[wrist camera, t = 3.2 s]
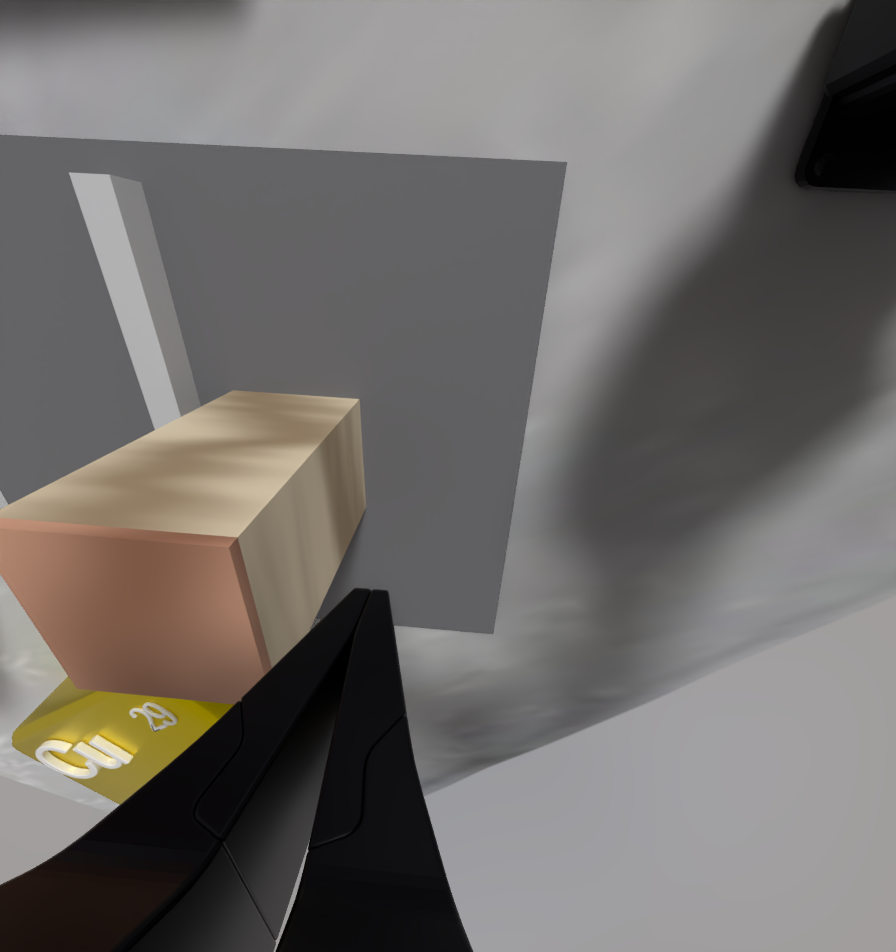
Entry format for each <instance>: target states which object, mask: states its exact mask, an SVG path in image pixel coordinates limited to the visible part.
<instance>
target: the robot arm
mask: <svg viewBox="0 0 896 952" xmlns="http://www.w3.org/2000/svg"><path fill="white" fill-rule="evenodd" d="M819 158H822V159H823V161H824V166H823V170H822V171H821V173H820V174H819V175H818V176H817V175H816V174H815V171H814V169H815V164H816V163H817V161H818V159H819ZM795 181H796V184H797V185H798V186H799V187H800V188H803V189H810V190H830V191H850V192H870V193H890V194H896V0H856V1H855V4H854V6H853V9H852V12H851V14H850V17H849V20H848V22H847V25H846V27H845V30H844V33H843V35H842V38H841V41H840V43H839V46H838V49H837V51H836V54H835V56H834V59H833V62H832V64H831V67H830V70H829V72H828V75H827V78H826V80H825V94H824V97H823V99H822V102H821V104H820V107H819V110H818V112H817V115H816V117H815V120H814V123H813V125H812V128H811V131H810V133H809V136H808V138H807V141H806V144H805V146H804V149H803V151H802V154H801V157H800V159H799V162H798V164H797V167H796V171H795ZM310 836H311V837H310ZM309 840H310V842H309ZM308 843H309V847H308V851H309V852H308V853H307V856H306V861H305V865H304V869H303V873H302V877H301V881H300V885H299V888H298V892H297V895H296V899H295V901H294V904H293V907H292V910H291V912H290V915H289V918H288V920H287V923H286V926H285V929H284V931H283V934H282V936H281V939H280V942H279V944H278V947H277V949H276V952H473V950H472V947H471V945H470V942H469V940H468V937H467V935H466V933H465V930H464V927H463V925H462V922H461V919H460V916H459V913H458V911H457V908H456V905H455V902H454V899H453V896H452V893H451V890H450V887H449V884H448V880H447V877H446V873H445V870H444V866H443V863H442V859H441V856H440V852H439V849H438V845H437V842H436V838H435V835H434V831H433V828H432V824H431V821H430V817H429V814H428V810H427V807H426V803H425V799H424V796H423V792H422V788H421V784H420V781H419V777H418V773H417V769H416V765H415V760H414V755H413V749H412V744H411V738H410V732H409V725H408V718H407V713H406V706H405V699H404V692H403V686H402V679H401V672H400V665H399V658H398V651H397V645H396V638H395V631H394V624H393V617H392V611H391V604H390V597H389V592H388V591H387V590H381V589H373V590H372V591H371V590H370V589H368V588H354V589H353V590H352V591H350V592H349V593H348V594H347V595H346V596H345V597H344V598H343V599H342V600H341V601H340V602H339V603H338V604H337V605H336V606H335V607H334V608H333V609H332V610H331V611H330V612H329V613H328V614H327V615H326V616H325V617H324V618H323V619H322V620H321V621H320V622H319V623H318V624H317V625H316V626H315V627H314V628H313V629H311V630H310V631H309V632H308V633H307V634H306V635H305V636H304V637H303V638H302V639H301V640H300V641H299V642H298V643H297V644H296V645H295V646H294V647H293V648H292V649H291V650H290V651H289V652H288V653H287V654H286V655H285V656H284V657H283V658H282V659H281V660H280V661H279V662H278V663H277V664H276V665H275V666H274V667H272V668H271V669H270V670H269V671H268V672H267V673H266V674H265V675H264V676H263V677H262V678H261V679H260V680H259V681H258V682H257V683H256V684H255V685H254V686H253V687H252V688H251V689H250V690H249V691H248V692H247V693H246V694H245V695H244V696H243V697H242V698H241V701H237V702H236V703H235V704H234V705H233V706H232V707H231V708H230V709H229V710H228V711H227V712H226V713H225V714H224V715H223V716H222V717H221V718H220V719H219V720H218V721H217V722H216V723H214V724H213V725H212V726H211V727H210V728H209V729H208V730H207V731H206V732H205V733H204V734H203V735H202V736H201V737H199V738H198V739H197V740H196V741H195V742H194V743H193V744H192V745H190V746H189V747H188V748H187V749H186V750H185V751H183V752H182V753H181V754H180V755H179V756H178V757H176V758H175V759H174V760H173V761H172V762H171V763H170V764H168V765H167V766H166V767H165V768H164V769H162V770H161V771H160V772H159V773H158V774H156V775H155V776H154V777H153V778H152V779H150V780H149V781H148V782H147V783H146V784H144V785H143V786H142V787H141V788H140V789H138V790H137V791H136V792H135V793H134V794H132V795H131V796H130V797H129V798H128V799H126V800H125V801H124V802H123V803H122V804H120V805H119V806H118V807H117V808H116V809H114V810H113V811H112V812H111V813H110V814H109V815H107V816H106V817H105V818H104V819H102V820H101V821H100V822H99V823H98V824H96V825H95V826H94V827H93V828H92V829H90V830H89V831H88V832H87V833H85V834H84V835H83V836H82V837H80V838H79V839H78V840H76V841H75V842H73V843H72V844H71V845H70V846H68V847H67V848H65V849H64V850H62V851H61V852H59V853H58V854H56V855H55V856H53V857H52V858H50V859H48V860H47V861H45V862H43V863H42V864H40V865H39V866H37V867H35V868H33V869H31V870H29V871H28V872H25V873H24V874H22V875H20V876H17V877H15V878H13V879H11V880H9V881H7V882H5V883H3V884H1V885H0V952H273V951H274V948H275V945H276V942H275V940H276V939H277V938H278V935H279V932H280V929H281V926H282V923H283V920H284V917H285V913H286V911H287V907H288V904H289V901H290V898H291V895H292V892H293V889H294V886H295V882H296V879H297V877H298V873H299V870H300V867H301V864H302V861H303V858H304V855H305V852H306V849H307V846H308Z"/></svg>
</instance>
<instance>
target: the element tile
mask: <svg viewBox="0 0 896 952" xmlns="http://www.w3.org/2000/svg"><path fill="white" fill-rule="evenodd" d="M233 705H234V704H226V703H215V702H205V701H195V700H185V699H175V698H164V697H154V696H144V695H134V694H123V693H113V692H103V691H93V690H83V689H77V688H76V687H75V685H74V684H73V682H72V681H71V679H70V678H69V676H68V677H67V678H66V679H65V680H64V681H63V682H62V683H61V684H60V685H59V686H58V687H57V688H56V689H55V690H54V691H53V692H52V693H51V694H50V695H49V696H48V697H47V698H46V699H45V700H44V701H43V702H42V703H41V704H40V705H39V706H38V707H37V708H36V709H35V710H34V711H33V712H32V713H31V714H30V715H29V716H28V717H27V718H26V719H25V720H24V721H23V722H22V723H21V724H20V726H19V727H18V728H17V729H16V730H15V731H14V732H13V736H12V740H13V741H12V746H13V747H14V748H15V749H17V750H18V751H20V752H22V753H23V754H25V755H27V756H29V757H30V758H32V759H34V760H36V761H38V762H40V763H42V764H44V765H46V766H47V767H49V768H51V769H53V770H55V771H57V772H59V773H61V774H63V775H65V776H67V777H68V778H70V779H72V780H74V781H76V782H78V783H80V784H82V785H84V786H86V787H87V788H89V789H91V790H93V791H95V792H97V793H99V794H101V795H103V796H105V797H106V798H108V799H110V800H112V801H114V802H116V803H118V804H122V803H123V802H124V801H125V800H126V799H128V798H129V797H130V796H131V795H132V794H134V793H135V792H136V791H137V790H138V789H140V788H141V787H142V786H143V785H144V784H146V783H147V782H148V781H149V780H150V779H152V778H153V777H154V776H155V775H156V774H158V773H159V772H160V771H161V770H162V769H164V768H165V767H166V766H167V765H168V764H170V763H171V762H172V761H173V760H174V759H175V758H176V757H178V756H179V755H180V754H181V753H182V752H183V751H185V750H186V749H187V748H188V747H189V746H190V745H192V744H193V743H194V742H195V741H196V740H197V739H198V738H199V737H201V736H202V735H203V734H204V733H205V732H206V731H207V730H208V729H209V728H210V727H211V726H212V725H213V724H214V723H216V722H217V721H218V720H219V719H220V718H221V717H222V716H223V715H224V714H225V713H226V712H227V711H228V710H229V709H230V708H231V707H232V706H233Z"/></svg>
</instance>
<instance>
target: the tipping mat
mask: <svg viewBox="0 0 896 952" xmlns="http://www.w3.org/2000/svg"><path fill="white" fill-rule="evenodd" d="M566 165H567V162H552V161H531V160H511V159H490V158H469V157H448V156H428V155H407V154H386V153H366V152H345V151H324V150H303V149H283V148H262V147H241V146H221V145H200V144H179V143H158V142H138V141H117V140H96V139H75V138H55V137H34V136H13V135H0V491H1V492H2V494H3V496H4V497H5V499H6V501H7V503H8V504H11V503H13V502H15V501H17V500H19V499H21V498H23V497H25V496H27V495H29V494H31V493H33V492H35V491H37V490H39V489H41V488H43V487H45V486H47V485H49V484H51V483H53V482H54V481H56V480H58V479H60V478H62V477H64V476H66V475H68V474H70V473H72V472H74V471H76V470H78V469H80V468H82V467H84V466H86V465H88V464H90V463H92V462H94V461H96V460H98V459H100V458H102V457H103V456H105V455H107V454H109V453H111V452H113V451H115V450H117V449H119V448H121V447H123V446H125V445H127V444H129V443H131V442H133V441H135V440H137V439H139V438H141V437H143V436H145V435H147V434H149V433H151V432H152V431H154V430H156V429H158V428H160V427H162V426H164V425H166V424H168V423H170V422H172V421H174V420H176V419H178V418H180V417H182V416H184V415H186V414H188V413H190V412H192V411H194V410H196V409H198V408H199V407H201V406H203V405H205V404H207V403H209V402H211V401H213V400H215V399H217V398H219V397H221V396H223V395H225V394H227V393H229V392H231V391H233V390H236V391H250V392H265V393H279V394H293V395H308V396H322V397H336V398H350V399H360V415H361V431H362V448H363V464H364V481H365V497H366V509H365V511H364V513H363V515H362V517H361V520H360V522H359V524H358V526H357V528H356V530H355V533H354V535H353V537H352V539H351V541H350V544H349V546H348V548H347V550H346V552H345V554H344V557H343V559H342V561H341V563H340V565H339V567H338V570H337V572H336V574H335V576H334V578H333V581H332V583H331V585H330V587H329V589H328V591H327V594H326V596H325V598H324V600H323V602H322V604H321V607H320V609H319V611H318V613H317V615H316V618H319V619H323V618H324V617H325V616H326V615H327V614H328V613H329V612H330V611H331V610H332V609H333V608H334V607H335V606H336V605H337V604H338V603H339V602H340V601H341V600H342V599H343V598H344V597H345V596H346V595H347V594H348V593H349V592H350V591H352V590H353V589H354V588H368V589H370V590H371V591H372V590H373V589H381V590H387V591H388V592H389V597H390V604H391V611H392V617H393V624H394V625H398V626H409V627H420V628H431V629H442V630H453V631H465V632H476V633H487V634H493V632H494V626H495V619H496V613H497V607H498V600H499V594H500V587H501V581H502V575H503V568H504V562H505V556H506V549H507V543H508V536H509V530H510V524H511V517H512V511H513V504H514V498H515V492H516V485H517V479H518V472H519V466H520V460H521V453H522V447H523V440H524V434H525V428H526V421H527V415H528V408H529V402H530V396H531V389H532V383H533V376H534V370H535V364H536V357H537V351H538V345H539V338H540V332H541V325H542V319H543V313H544V306H545V300H546V293H547V287H548V281H549V274H550V268H551V261H552V255H553V249H554V242H555V236H556V229H557V223H558V217H559V210H560V204H561V197H562V191H563V185H564V178H565V172H566Z"/></svg>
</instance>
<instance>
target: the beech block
mask: <svg viewBox="0 0 896 952" xmlns="http://www.w3.org/2000/svg"><path fill="white" fill-rule="evenodd" d="M365 509H366V497H365V481H364V464H363V448H362V431H361V415H360V399H350V398H336V397H322V396H308V395H293V394H279V393H265V392H250V391H236V390H233V391H231V392H229V393H227V394H225V395H223V396H221V397H219V398H217V399H215V400H213V401H211V402H209V403H207V404H205V405H203V406H201V407H199V408H198V409H196V410H194V411H192V412H190V413H188V414H186V415H184V416H182V417H180V418H178V419H176V420H174V421H172V422H170V423H168V424H166V425H164V426H162V427H160V428H158V429H156V430H154V431H152V432H151V433H149V434H147V435H145V436H143V437H141V438H139V439H137V440H135V441H133V442H131V443H129V444H127V445H125V446H123V447H121V448H119V449H117V450H115V451H113V452H111V453H109V454H107V455H105V456H103V457H102V458H100V459H98V460H96V461H94V462H92V463H90V464H88V465H86V466H84V467H82V468H80V469H78V470H76V471H74V472H72V473H70V474H68V475H66V476H64V477H62V478H60V479H58V480H56V481H54V482H53V483H51V484H49V485H47V486H45V487H43V488H41V489H39V490H37V491H35V492H33V493H31V494H29V495H27V496H25V497H23V498H21V499H19V500H17V501H15V502H13V503H11V504H9V505H7V506H6V507H4V508H2V509H0V574H1V576H2V577H3V579H4V580H5V582H6V583H7V585H8V586H9V588H10V589H11V591H12V592H13V594H14V595H15V597H16V598H17V600H18V601H19V603H20V604H21V606H22V607H23V609H24V610H25V612H26V613H27V615H28V616H29V618H30V619H31V621H32V622H33V624H34V625H35V627H36V628H37V630H38V631H39V633H40V634H41V636H42V637H43V639H44V640H45V642H46V643H47V645H48V646H49V648H50V649H51V651H52V652H53V654H54V655H55V657H56V658H57V660H58V661H59V663H60V664H61V666H62V667H63V669H64V670H65V672H66V673H67V675H68V676H69V678H70V679H71V681H72V682H73V684H74V685H75V687H76V688H77V689H83V690H93V691H103V692H113V693H123V694H134V695H144V696H154V697H164V698H175V699H185V700H195V701H205V702H215V703H226V704H235V703H236V702H237V701H241V698H242V697H243V696H244V695H245V694H246V693H247V692H248V691H249V690H250V689H251V688H252V687H253V686H254V685H255V684H256V683H257V682H258V681H259V680H260V679H261V678H262V677H263V676H264V675H265V674H266V673H267V672H268V671H269V670H270V669H271V668H272V667H274V666H275V665H276V664H277V663H278V662H279V661H280V660H281V659H282V658H283V657H284V656H285V655H286V654H287V653H288V652H289V651H290V650H291V649H292V648H293V647H294V646H295V645H296V644H297V643H298V642H299V641H300V640H301V639H302V638H303V637H304V636H305V635H306V634H307V633H308V632H309V631H310V628H311V626H312V624H313V622H314V620H315V618H316V615H317V613H318V611H319V609H320V607H321V604H322V602H323V600H324V598H325V596H326V594H327V591H328V589H329V587H330V585H331V583H332V581H333V578H334V576H335V574H336V572H337V570H338V567H339V565H340V563H341V561H342V559H343V557H344V554H345V552H346V550H347V548H348V546H349V544H350V541H351V539H352V537H353V535H354V533H355V530H356V528H357V526H358V524H359V522H360V520H361V517H362V515H363V513H364V511H365Z"/></svg>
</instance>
